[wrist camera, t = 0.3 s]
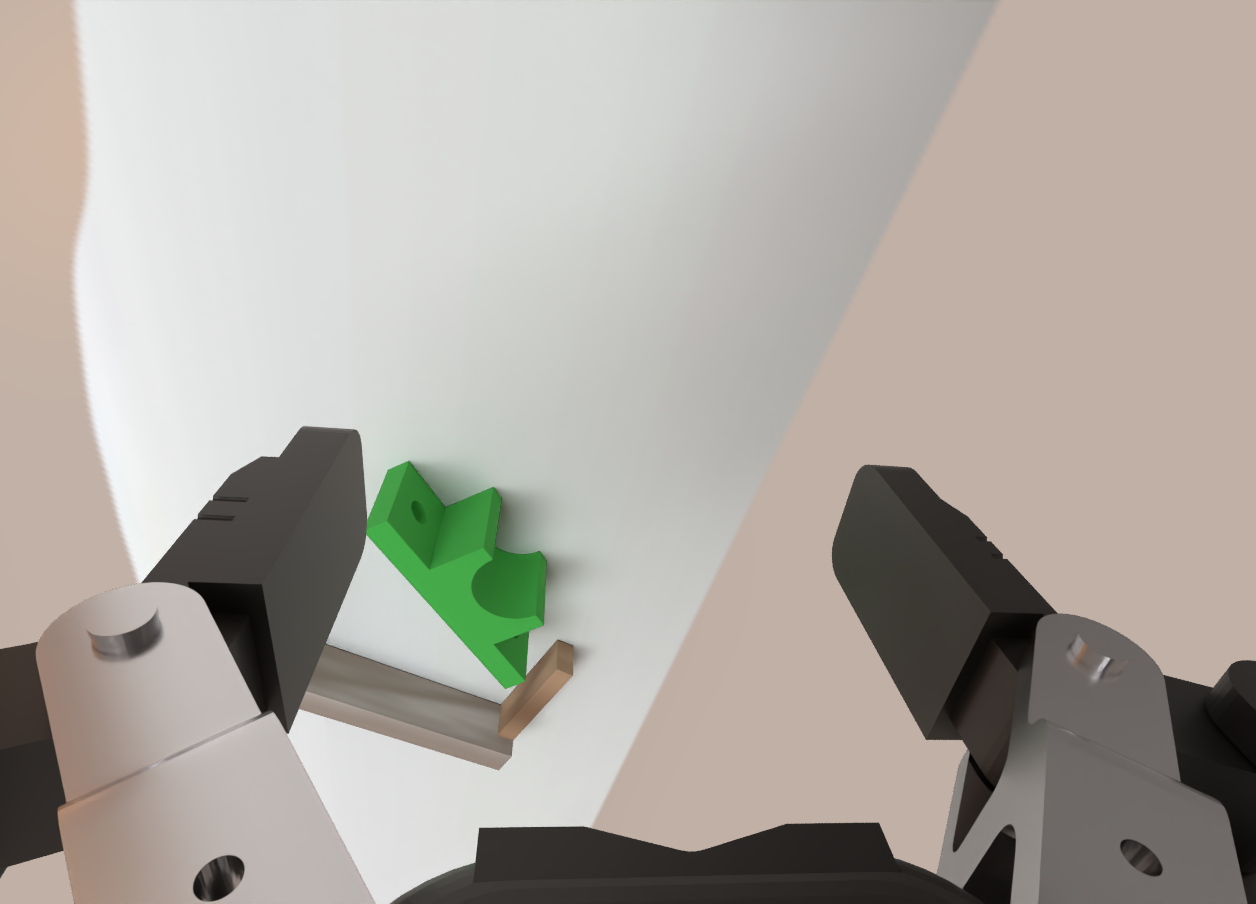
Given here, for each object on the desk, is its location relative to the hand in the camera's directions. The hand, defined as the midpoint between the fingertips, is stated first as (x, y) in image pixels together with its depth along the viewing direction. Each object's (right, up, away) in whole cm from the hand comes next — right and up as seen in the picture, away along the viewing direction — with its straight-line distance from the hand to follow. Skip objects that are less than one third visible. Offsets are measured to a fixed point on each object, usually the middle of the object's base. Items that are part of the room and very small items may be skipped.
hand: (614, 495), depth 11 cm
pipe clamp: (-7, -4, +22) cm, 24 cm away
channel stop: (-11, -9, +25) cm, 29 cm away
